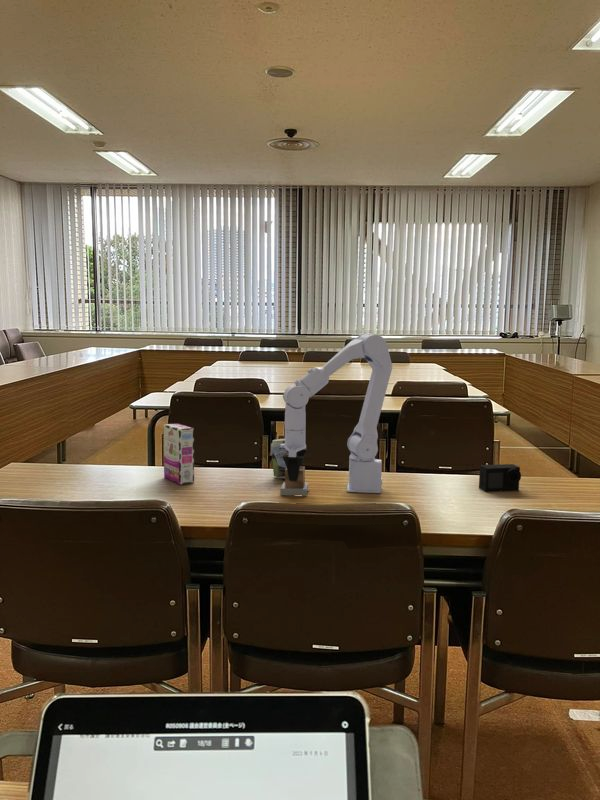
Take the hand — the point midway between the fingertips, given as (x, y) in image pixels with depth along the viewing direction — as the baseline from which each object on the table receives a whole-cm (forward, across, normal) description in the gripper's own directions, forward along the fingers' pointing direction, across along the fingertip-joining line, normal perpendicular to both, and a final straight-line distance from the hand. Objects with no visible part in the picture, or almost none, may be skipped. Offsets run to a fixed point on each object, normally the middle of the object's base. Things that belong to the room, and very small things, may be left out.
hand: (294, 477), depth 180 cm
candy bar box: (+5, -9, -36) cm, 37 cm away
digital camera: (+5, -11, +58) cm, 59 cm away
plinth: (+4, 0, 0) cm, 4 cm away
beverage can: (+5, -16, -6) cm, 18 cm away
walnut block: (+2, 0, 0) cm, 2 cm away
